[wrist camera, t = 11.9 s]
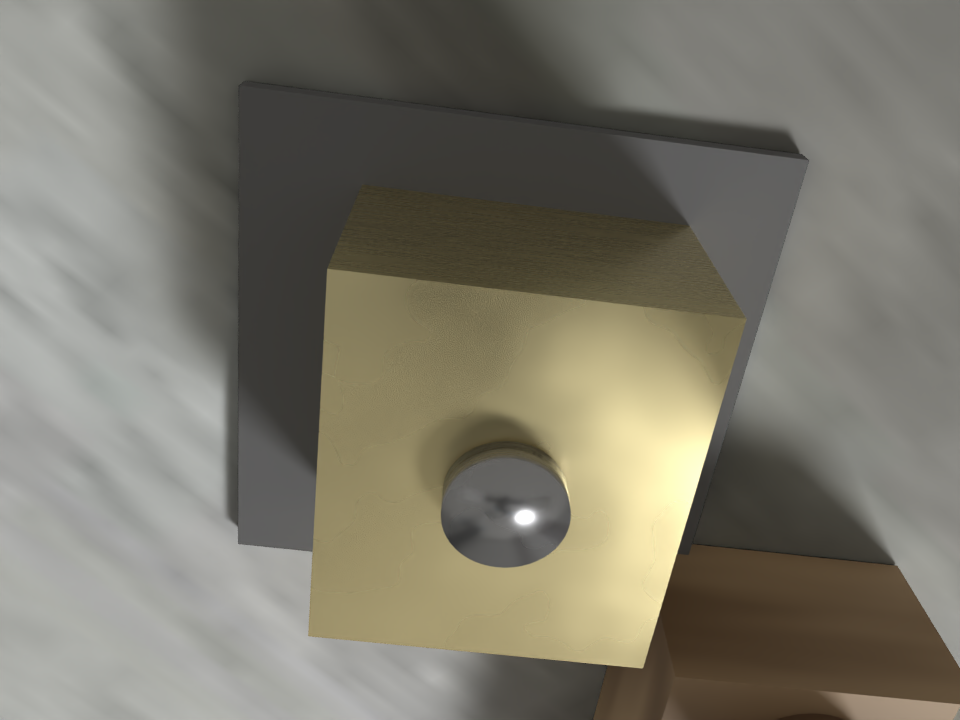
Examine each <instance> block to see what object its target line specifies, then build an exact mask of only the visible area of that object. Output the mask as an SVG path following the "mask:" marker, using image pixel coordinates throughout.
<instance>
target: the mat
mask: <svg viewBox="0 0 960 720" xmlns="http://www.w3.org/2000/svg"><path fill="white" fill-rule="evenodd" d="M808 163H809V160H808V159H807V158H806V157H805V156H803V155H802V154H795V153H788V152H780V151H773V150H765V149H757V148H750V147H742V146H735V145H727V144H719V143H712V142H704V141H696V140H689V139H681V138H674V137H666V136H658V135H651V134H643V133H636V132H628V131H620V130H613V129H605V128H598V127H590V126H582V125H575V124H567V123H559V122H552V121H544V120H537V119H529V118H521V117H514V116H506V115H499V114H491V113H483V112H476V111H468V110H461V109H453V108H445V107H438V106H430V105H422V104H415V103H407V102H400V101H392V100H384V99H377V98H369V97H362V96H354V95H346V94H339V93H331V92H324V91H316V90H308V89H301V88H293V87H285V86H278V85H270V84H263V83H255V82H247V81H244V82H243V83H242V84H240V85H239V345H238V544H244V545H254V546H264V547H273V548H283V549H293V550H303V551H312V552H313V536H314V516H315V497H316V478H317V458H318V439H319V419H320V400H321V380H322V361H323V342H324V322H325V303H326V283H327V268H328V266H329V263H330V261H331V258H332V256H333V254H334V251H335V249H336V246H337V244H338V241H339V239H340V237H341V234H342V232H343V229H344V227H345V225H346V222H347V220H348V217H349V215H350V212H351V210H352V208H353V205H354V203H355V200H356V198H357V196H358V193H359V191H360V188H361V186H362V185H369V186H377V187H385V188H393V189H401V190H409V191H417V192H425V193H433V194H441V195H449V196H457V197H465V198H473V199H481V200H489V201H497V202H505V203H513V204H521V205H529V206H537V207H545V208H552V209H560V210H568V211H576V212H584V213H592V214H600V215H608V216H616V217H624V218H632V219H640V220H648V221H656V222H664V223H672V224H680V225H688V226H690V227H691V229H692V230H693V232H694V234H695V235H696V237H697V239H698V240H699V242H700V244H701V245H702V247H703V248H704V250H705V252H706V253H707V255H708V257H709V258H710V260H711V262H712V263H713V265H714V266H715V268H716V270H717V271H718V273H719V275H720V276H721V278H722V279H723V281H724V283H725V284H726V286H727V288H728V289H729V291H730V293H731V294H732V296H733V297H734V299H735V301H736V302H737V304H738V306H739V307H740V309H741V311H742V312H743V314H744V315H745V317H746V319H747V320H746V323H745V326H744V330H743V333H742V336H741V340H740V343H739V347H738V350H737V353H736V357H735V360H734V363H733V367H732V370H731V374H730V377H729V380H728V384H727V387H726V390H725V394H724V397H723V400H722V404H721V407H720V411H719V414H718V417H717V421H716V424H715V427H714V431H713V434H712V437H711V441H710V444H709V448H708V451H707V454H706V458H705V461H704V464H703V468H702V471H701V475H700V478H699V481H698V485H697V488H696V491H695V495H694V498H693V501H692V505H691V508H690V512H689V515H688V518H687V522H686V525H685V528H684V532H683V535H682V538H681V542H680V545H679V549H678V552H677V554H683V555H689V552H690V549H691V546H692V542H693V539H694V536H695V533H696V529H697V526H698V523H699V520H700V516H701V513H702V510H703V506H704V503H705V500H706V497H707V493H708V490H709V487H710V484H711V480H712V477H713V474H714V470H715V467H716V464H717V461H718V457H719V454H720V451H721V448H722V444H723V441H724V438H725V434H726V431H727V428H728V425H729V421H730V418H731V415H732V412H733V408H734V405H735V402H736V398H737V395H738V392H739V389H740V385H741V382H742V379H743V376H744V372H745V369H746V366H747V362H748V359H749V356H750V353H751V349H752V346H753V343H754V340H755V336H756V333H757V330H758V326H759V323H760V320H761V317H762V313H763V310H764V307H765V304H766V300H767V297H768V294H769V290H770V287H771V284H772V281H773V277H774V274H775V271H776V268H777V264H778V261H779V258H780V254H781V251H782V248H783V245H784V241H785V238H786V235H787V231H788V228H789V225H790V222H791V218H792V215H793V212H794V209H795V205H796V202H797V199H798V195H799V192H800V189H801V186H802V182H803V179H804V176H805V173H806V169H807V166H808Z"/></svg>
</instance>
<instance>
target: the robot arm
mask: <svg viewBox="0 0 960 720" xmlns="http://www.w3.org/2000/svg"><path fill="white" fill-rule="evenodd" d="M953 720H960V708H959V710H958V712H957V714H956V716H955V718H954V719H953Z"/></svg>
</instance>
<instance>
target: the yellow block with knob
mask: <svg viewBox="0 0 960 720" xmlns="http://www.w3.org/2000/svg"><path fill="white" fill-rule="evenodd" d="M746 320H747V319H746V317H745V315H744V314H743V312H742V311H741V309H740V307H739V306H738V304H737V302H736V301H735V299H734V297H733V296H732V294H731V293H730V291H729V289H728V288H727V286H726V284H725V283H724V281H723V279H722V278H721V276H720V275H719V273H718V271H717V270H716V268H715V266H714V265H713V263H712V262H711V260H710V258H709V257H708V255H707V253H706V252H705V250H704V248H703V247H702V245H701V244H700V242H699V240H698V239H697V237H696V235H695V234H694V232H693V230H692V229H691V227H690V226H688V225H680V224H672V223H664V222H656V221H648V220H640V219H632V218H624V217H616V216H608V215H600V214H592V213H584V212H576V211H568V210H560V209H552V208H545V207H537V206H529V205H521V204H513V203H505V202H497V201H489V200H481V199H473V198H465V197H457V196H449V195H441V194H433V193H425V192H417V191H409V190H401V189H393V188H385V187H377V186H369V185H362V186H361V188H360V191H359V193H358V196H357V198H356V200H355V203H354V205H353V208H352V210H351V212H350V215H349V217H348V220H347V222H346V225H345V227H344V229H343V232H342V234H341V237H340V239H339V241H338V244H337V246H336V249H335V251H334V254H333V256H332V258H331V261H330V263H329V266H328V268H327V283H326V303H325V322H324V342H323V361H322V380H321V400H320V419H319V439H318V458H317V478H316V497H315V516H314V536H313V555H312V575H311V594H310V614H309V633H308V636H312V637H322V638H333V639H343V640H353V641H364V642H374V643H384V644H395V645H405V646H415V647H426V648H436V649H446V650H457V651H467V652H477V653H488V654H498V655H508V656H519V657H529V658H539V659H550V660H560V661H570V662H581V663H591V664H601V665H612V666H622V667H632V668H643V666H644V663H645V660H646V656H647V653H648V650H649V646H650V643H651V639H652V636H653V633H654V629H655V626H656V623H657V619H658V616H659V613H660V609H661V606H662V602H663V599H664V596H665V592H666V589H667V586H668V582H669V579H670V576H671V572H672V569H673V565H674V562H675V559H676V555H677V552H678V549H679V545H680V542H681V538H682V535H683V532H684V528H685V525H686V522H687V518H688V515H689V512H690V508H691V505H692V501H693V498H694V495H695V491H696V488H697V485H698V481H699V478H700V475H701V471H702V468H703V464H704V461H705V458H706V454H707V451H708V448H709V444H710V441H711V437H712V434H713V431H714V427H715V424H716V421H717V417H718V414H719V411H720V407H721V404H722V400H723V397H724V394H725V390H726V387H727V384H728V380H729V377H730V374H731V370H732V367H733V363H734V360H735V357H736V353H737V350H738V347H739V343H740V340H741V336H742V333H743V330H744V326H745V323H746Z"/></svg>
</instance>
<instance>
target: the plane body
mask: <svg viewBox="0 0 960 720" xmlns="http://www.w3.org/2000/svg"><path fill="white" fill-rule="evenodd" d="M959 708H960V668H959V666H958V664H957V663H956V661H955V660H954V658H953V656H952V655H951V653H950V651H949V650H948V648H947V646H946V645H945V643H944V642H943V640H942V638H941V637H940V635H939V633H938V632H937V630H936V628H935V627H934V625H933V624H932V622H931V620H930V619H929V617H928V615H927V614H926V612H925V610H924V609H923V607H922V606H921V604H920V602H919V601H918V599H917V597H916V596H915V594H914V592H913V591H912V589H911V588H910V586H909V584H908V583H907V581H906V579H905V578H904V576H903V574H902V573H901V571H900V570H899V568H898V566H894V565H885V564H875V563H866V562H856V561H847V560H837V559H828V558H818V557H809V556H799V555H790V554H780V553H771V552H761V551H752V550H742V549H733V548H723V547H714V546H704V545H695V544H692V546H691V549H690V552H689V555H683V554H677V555H676V559H675V562H674V565H673V569H672V572H671V576H670V579H669V582H668V586H667V589H666V592H665V596H664V599H663V602H662V606H661V609H660V613H659V616H658V619H657V623H656V626H655V629H654V633H653V636H652V639H651V643H650V646H649V650H648V653H647V656H646V660H645V663H644V666H643V668H632V667H622V666H612V665H608V666H607V670H606V673H605V677H604V681H603V684H602V688H601V692H600V696H599V699H598V703H597V707H596V710H595V714H594V718H593V720H953V719H954V718H955V716H956V714H957V712H958V710H959Z"/></svg>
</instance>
